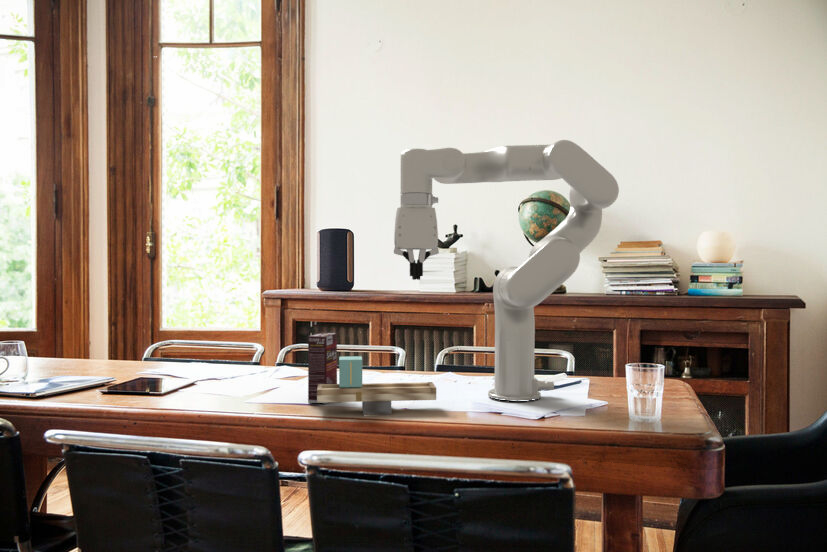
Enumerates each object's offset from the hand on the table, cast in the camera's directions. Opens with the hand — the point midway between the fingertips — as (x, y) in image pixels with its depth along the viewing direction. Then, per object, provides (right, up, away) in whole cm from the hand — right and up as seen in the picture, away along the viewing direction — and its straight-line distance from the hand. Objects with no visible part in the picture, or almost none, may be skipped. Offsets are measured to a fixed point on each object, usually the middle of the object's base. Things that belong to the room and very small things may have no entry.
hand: (416, 279), depth 166 cm
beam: (-9, -29, -10) cm, 32 cm away
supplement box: (-22, -29, +2) cm, 37 cm away
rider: (-15, -25, -11) cm, 31 cm away
